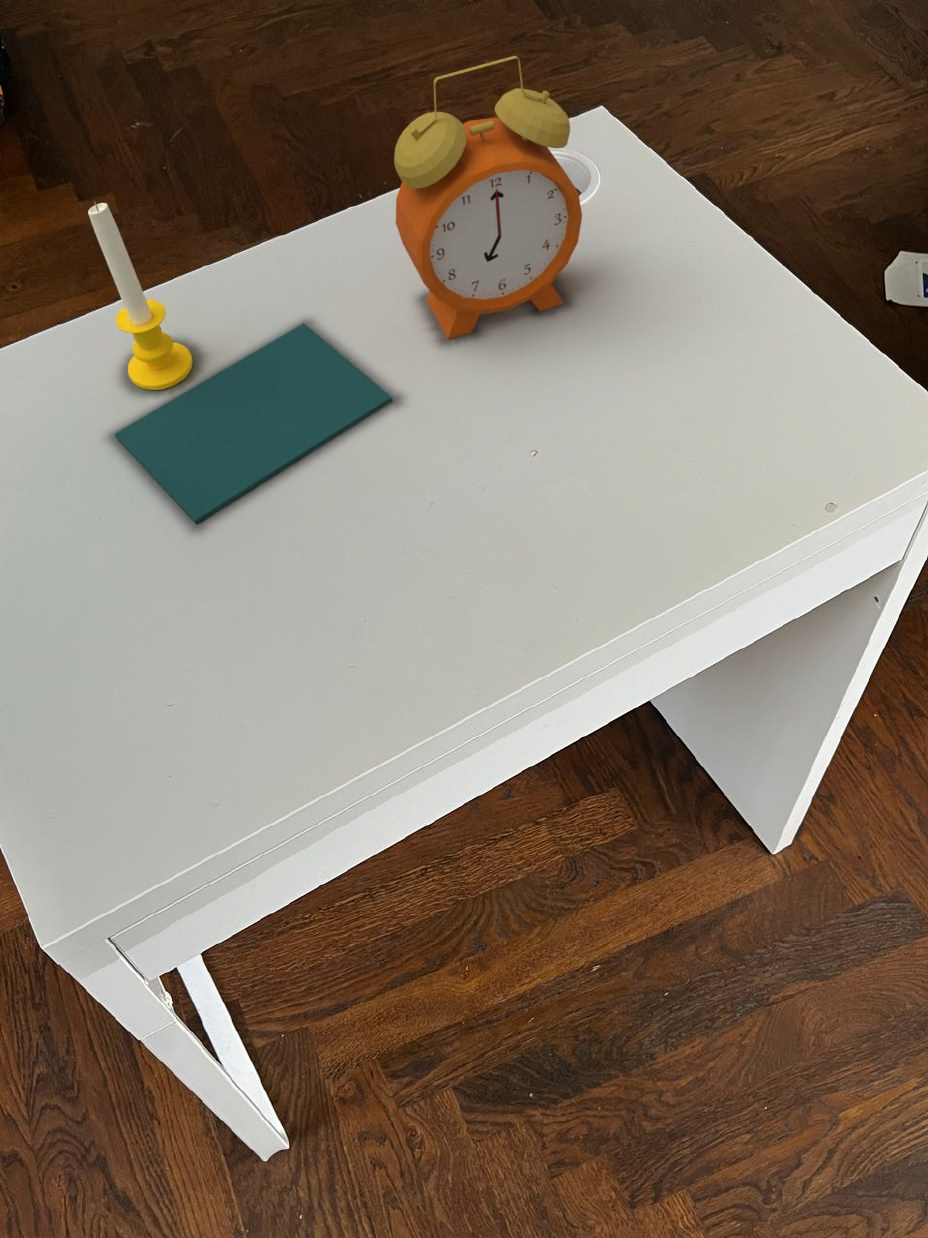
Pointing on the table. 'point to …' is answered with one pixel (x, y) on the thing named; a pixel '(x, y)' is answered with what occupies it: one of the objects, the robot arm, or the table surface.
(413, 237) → the alarm clock
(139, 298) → the candle
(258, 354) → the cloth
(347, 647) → the table surface
